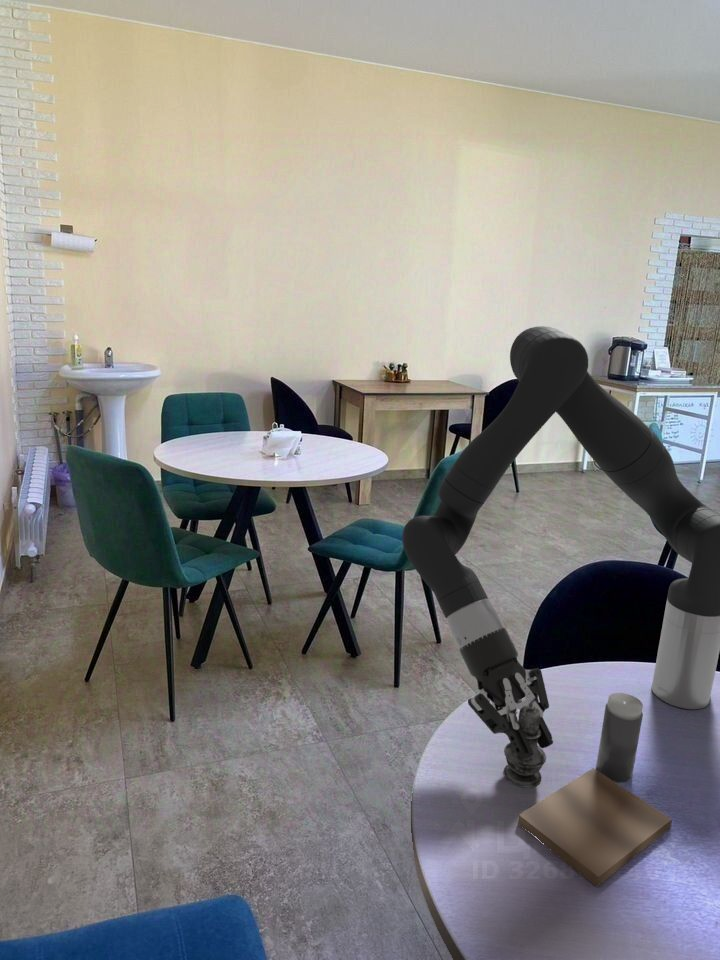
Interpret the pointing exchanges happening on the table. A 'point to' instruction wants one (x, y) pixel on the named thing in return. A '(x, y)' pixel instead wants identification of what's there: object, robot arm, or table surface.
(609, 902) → the table surface
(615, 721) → the grey cylinder
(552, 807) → the walnut board
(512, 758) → the grey chess piece
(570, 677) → the table surface
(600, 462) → the robot arm
